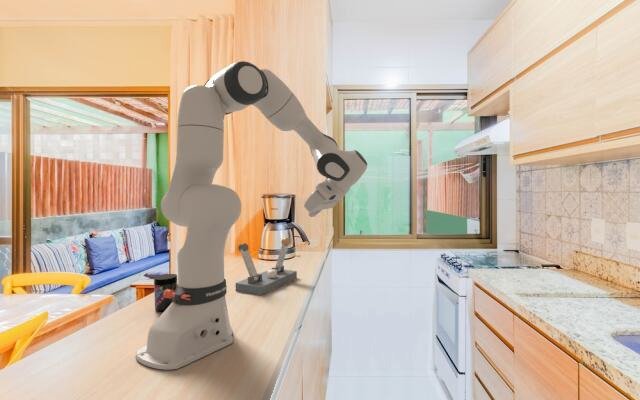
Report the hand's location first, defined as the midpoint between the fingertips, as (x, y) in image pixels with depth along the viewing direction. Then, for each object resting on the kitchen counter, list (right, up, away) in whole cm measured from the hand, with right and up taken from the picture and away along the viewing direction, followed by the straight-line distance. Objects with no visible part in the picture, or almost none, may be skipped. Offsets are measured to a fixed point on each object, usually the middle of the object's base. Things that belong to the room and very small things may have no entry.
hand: (311, 215), depth 122 cm
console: (-17, -27, +5) cm, 33 cm away
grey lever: (-21, -24, -3) cm, 32 cm away
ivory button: (-15, -24, +3) cm, 29 cm away
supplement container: (-46, -29, -20) cm, 58 cm away
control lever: (-14, -23, +11) cm, 29 cm away
